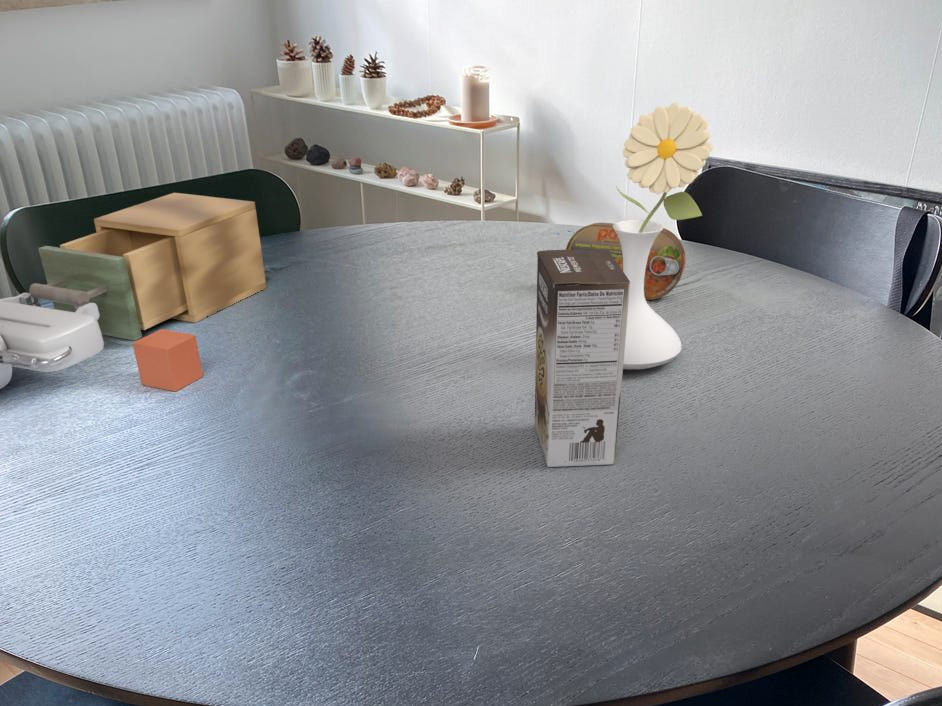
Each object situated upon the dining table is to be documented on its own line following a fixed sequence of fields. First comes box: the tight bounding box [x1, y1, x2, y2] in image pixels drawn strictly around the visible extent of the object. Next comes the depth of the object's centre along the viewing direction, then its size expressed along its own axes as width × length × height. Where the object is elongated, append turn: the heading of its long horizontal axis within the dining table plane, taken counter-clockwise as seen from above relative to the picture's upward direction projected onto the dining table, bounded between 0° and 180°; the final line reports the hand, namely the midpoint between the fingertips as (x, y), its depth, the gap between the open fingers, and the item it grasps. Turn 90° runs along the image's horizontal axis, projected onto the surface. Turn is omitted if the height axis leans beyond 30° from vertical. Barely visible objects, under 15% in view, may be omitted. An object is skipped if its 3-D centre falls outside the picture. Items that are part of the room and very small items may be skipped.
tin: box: [565, 222, 686, 301], centre depth 122 cm, size 15×3×8 cm, turn 68°
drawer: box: [28, 228, 188, 341], centre depth 113 cm, size 18×11×9 cm, turn 155°
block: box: [132, 328, 204, 393], centre depth 102 cm, size 4×4×4 cm
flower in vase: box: [613, 102, 713, 370], centre depth 99 cm, size 13×11×25 cm
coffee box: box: [534, 248, 630, 468], centre depth 85 cm, size 9×6×16 cm
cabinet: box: [93, 192, 267, 323], centre depth 122 cm, size 15×13×11 cm
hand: (63, 304), depth 107 cm, fingers closed on drawer, 7 cm apart
